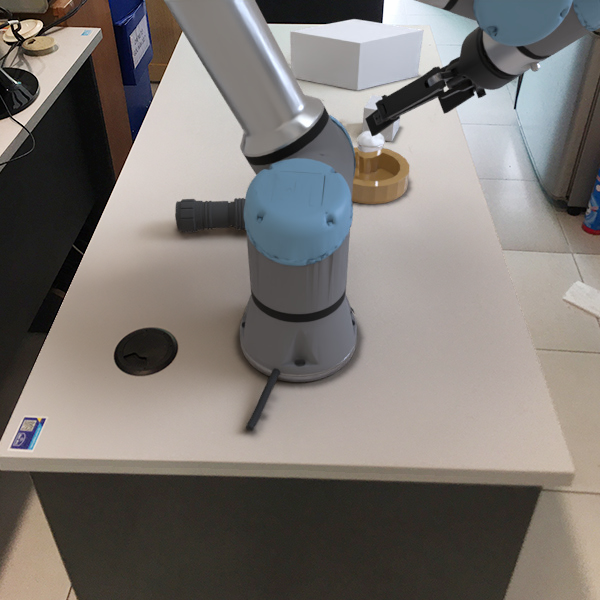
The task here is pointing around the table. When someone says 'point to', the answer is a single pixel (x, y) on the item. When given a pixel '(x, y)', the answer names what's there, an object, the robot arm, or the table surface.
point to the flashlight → (209, 214)
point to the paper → (355, 53)
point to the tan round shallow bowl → (382, 180)
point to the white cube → (369, 109)
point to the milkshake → (369, 155)
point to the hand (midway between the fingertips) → (407, 115)
